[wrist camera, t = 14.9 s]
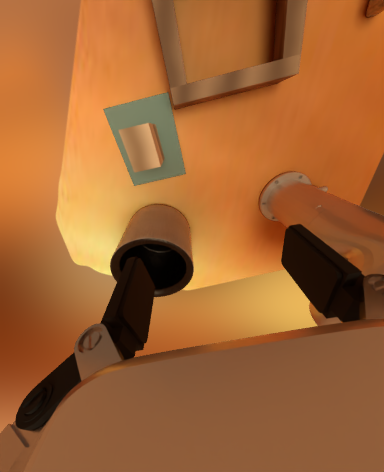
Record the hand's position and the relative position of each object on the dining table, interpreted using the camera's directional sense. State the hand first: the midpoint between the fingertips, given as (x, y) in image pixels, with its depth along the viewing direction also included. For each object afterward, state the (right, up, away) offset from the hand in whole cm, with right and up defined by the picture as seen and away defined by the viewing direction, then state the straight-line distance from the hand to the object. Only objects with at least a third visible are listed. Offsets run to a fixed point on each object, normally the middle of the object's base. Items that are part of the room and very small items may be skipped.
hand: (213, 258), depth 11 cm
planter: (-10, +3, +34) cm, 35 cm away
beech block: (-10, +20, +22) cm, 31 cm away
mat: (-10, +20, +22) cm, 32 cm away
